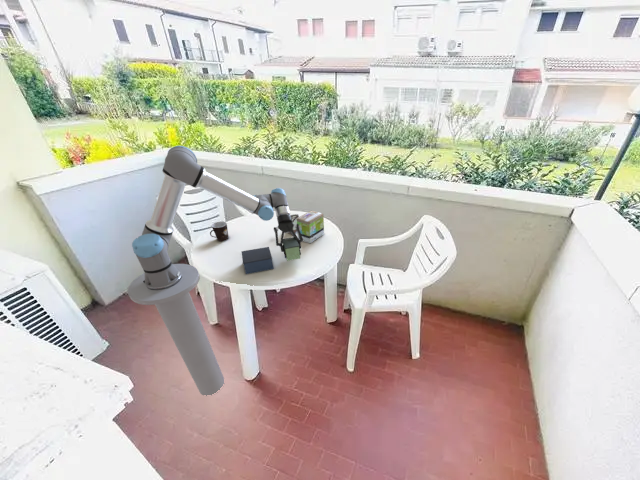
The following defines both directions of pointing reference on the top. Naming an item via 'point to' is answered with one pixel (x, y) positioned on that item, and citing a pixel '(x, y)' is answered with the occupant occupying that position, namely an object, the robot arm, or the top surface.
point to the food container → (294, 221)
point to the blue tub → (257, 260)
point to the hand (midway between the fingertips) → (292, 255)
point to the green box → (291, 248)
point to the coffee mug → (220, 230)
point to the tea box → (311, 226)
